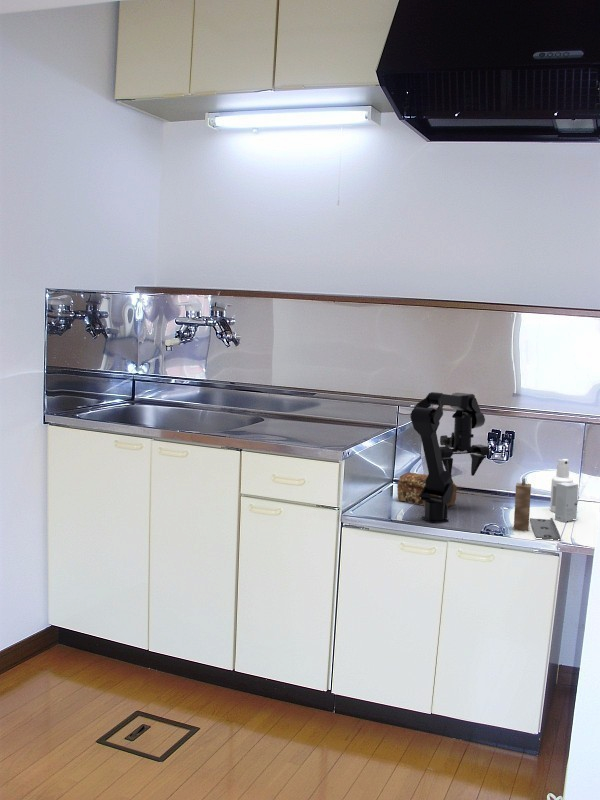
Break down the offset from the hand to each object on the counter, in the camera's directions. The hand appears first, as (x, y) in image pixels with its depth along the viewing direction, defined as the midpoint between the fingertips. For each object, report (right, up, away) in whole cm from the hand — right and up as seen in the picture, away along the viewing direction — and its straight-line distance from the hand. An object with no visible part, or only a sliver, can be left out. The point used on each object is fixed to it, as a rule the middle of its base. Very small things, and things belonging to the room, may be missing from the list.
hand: (460, 476), depth 279 cm
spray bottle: (+35, -13, +5) cm, 37 cm away
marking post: (+15, -15, -19) cm, 29 cm away
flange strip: (+22, -15, -20) cm, 34 cm away
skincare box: (+33, -14, -7) cm, 36 cm away
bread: (-10, -11, +13) cm, 19 cm away
